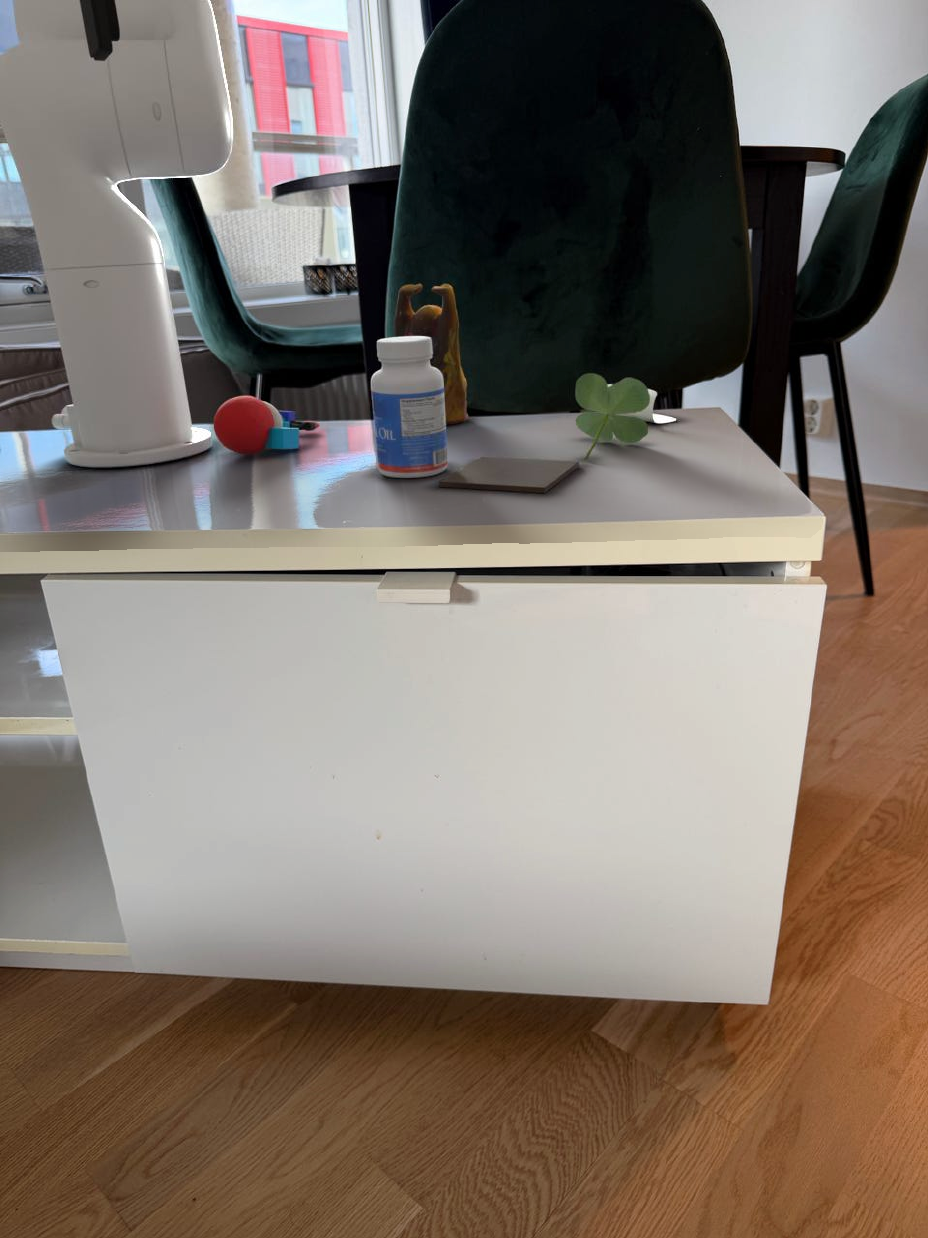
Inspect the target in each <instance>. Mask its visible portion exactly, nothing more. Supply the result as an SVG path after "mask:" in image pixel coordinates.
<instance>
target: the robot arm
mask: <svg viewBox="0 0 928 1238" xmlns="http://www.w3.org/2000/svg"><path fill="white" fill-rule="evenodd" d="M13 10H14V11H13V12H14V15H13V16H14V24H15V29H16V35H17V39H18V43H19V44H17V45H14V46H12V47H10V48H8V49H7V50H5V51H4V52H3V53H2V54H1V55H0V127H1V131H2V132H3V135H4V138H5V140H6V143H7V147H8V149H9V152H10V154H11V156H12V157H11V158H12V159H13V162H14V166H15V167H16V170H17V173H18V176H19V179H20V182H21V185H22V189H23V192H24V194H25V200H26V202H27V205H28V206H27V207H28V209H29V213H30V216H31V220H32V224H33V228H34V232H35V237H36V241H37V245H38V246H37V247H38V250H39V254H40V259H41V263H42V267H43V273H44V277H45V281H46V286H47V290H48V291H47V292H48V295H49V300H50V305H51V309H52V314H53V317H54V318H53V319H54V322H55V323H54V324H55V327H56V331H57V337H58V341H59V346H60V350H61V355H62V360H63V364H64V368H65V374H66V378H67V383H68V387H69V392H70V397H71V400H72V404H68V405H65V406H64V407H63V408H62V409H61V412H60V413H55V414H53V415H52V418H51V425H52V427H53V428H55V429H57V430H70V432H71V437H72V440H73V442H71V443H70V444H68V445H66V446H65V447H64V449H63V453H64V458H65V462H67V463H68V464H70V465H72V466H77V467H83V468H123V467H135V466H136V467H137V466H143V465H153V464H158V463H164V462H170V461H175V460H180V459H183V458H184V459H185V458H188V457H192V456H194V455H198V454H200V453H204V452H205V451H207V450H209V449H210V448H211V447H212V446H213V445H214V444H213V438H212V437H213V436H212V433H211V432H210V431H209V430H207V429H203V428H199V427H193V424H192V418H191V412H190V411H191V410H190V405H189V399H188V394H187V388H186V387H187V386H186V381H185V376H184V369H183V365H182V357H181V351H180V347H179V340H178V333H177V328H176V322H175V317H174V310H173V305H172V298H171V293H170V287H169V280H168V275H167V269H166V262H165V256H164V251H163V246H162V243H161V240H160V238H159V235H158V233H157V231H156V229H155V227H154V226H153V224H152V223H151V222H150V221H149V219H148V218H147V217H146V216H145V215H144V214H143V212H141V211H140V210H139V209H138V208H137V207H136V206H135V205H134V204H133V203H131V202H130V201H129V200H128V199H127V198H126V197H125V196H124V195H123V194H122V193H121V192H120V190H119V188H118V186H117V185H118V184H119V183H121V182H125V181H133V180H138V179H139V180H140V179H141V180H142V179H169V178H170V179H171V178H172V179H173V178H192V177H194V178H195V177H204V176H208V175H212V174H215V173H217V172H219V171H220V170H222V169H223V168H224V167H225V166H226V164H227V163H228V161H229V159H230V156H231V155H232V154H231V153H232V149H233V142H234V141H233V139H234V138H233V137H234V127H233V126H234V125H233V114H232V113H233V112H232V108H231V99H230V94H229V90H228V83H227V78H226V73H225V68H224V61H223V55H222V50H221V45H220V40H219V34H218V29H217V28H218V27H217V23H216V19H215V15H214V11H213V7H212V3H211V1H210V0H13Z"/></svg>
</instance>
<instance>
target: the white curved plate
mask: <svg viewBox="0 0 928 1238" xmlns="http://www.w3.org/2000/svg"><path fill="white" fill-rule="evenodd" d="M612 384H613V383H611V384H610V383H609V384H608V383H607V385H608V387H609V386H611V385H612ZM647 389H648V393H649V395H650V403H649V405H648V406H647V407H646V409H644V410H642V411H640V412H636V413H628V414H616V415H620V416H628V417H636V418H639V419H641V420H643V421H644V422H648V423H655V424H667V423H672V422H676V421H677V418H675V417H672V416H669V415H663V414H659V413H654V405H655V400H656V399H657V398H656V397H657V396H658V392H657V391H655V390H653V389H650V388H647Z"/></svg>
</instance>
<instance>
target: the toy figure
mask: <svg viewBox="0 0 928 1238" xmlns="http://www.w3.org/2000/svg"><path fill="white" fill-rule="evenodd" d="M318 428H320V423H318V422H316V421H313V420H297V417H296V411H291V410H289V411H288V410H279V409H277V408H276V407H275V406H274V405H272V404H271V403H269V402H267V401H263V400H262V399H260V398H257V397H255V396H252V395H239V396H235V397H232V398H229V399H228V400H226V401H225V402H223V403H222V404H221V405H220V406H219V408H218V409H217V411H216V413H215V414H214V418H213V431H214V434H215V436H216V439H218V441H219V443H220V444H222V446H223V447H224V448H226V449H228V450H229V451H230V452H231V451H232V452H234V453H236V454H240V455H255V454H259V453H261V452H262V451H264V450H266V449H275V450H291V449H292V450H293V449H300V431H306V432H312V431H315V430H316V429H318Z"/></svg>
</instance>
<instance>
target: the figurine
mask: <svg viewBox="0 0 928 1238" xmlns="http://www.w3.org/2000/svg"><path fill="white" fill-rule="evenodd" d="M421 291H423V285H422V284H421V283H418V284H406V285H404V286H401V287H400V289H399V290H398V296H397V302H396V308H395V314H394V318H393V319H394V320H393V326H394V327H393V329H394V330H393V331H394V335H395V336H394V337H405V336H425V337H430V338H431V339H432V350H433V354H432V358H431V359H430V365H431V366H432V367H435V368H437V369H438V370H439V371H440V372H441V373H442V375H443V380H444V399H445V417H446V426H450V425H456V424H461V423H464V422H466V421H467V420H468V419H469V414H468V412H467V408H468V405H467V403H468V401H467V388H468V383H467V379H466V377H465V374H464V371H463V368H462V366H461V355H460V341H459V330H460V323H459V315H458V310H457V303H456V297H455V293H454V289H453V286H452V285H450V284H449V283H443V284H442V285H440V286H438V285H437V286H436V285H435V286H433V287H432V288H431V292H432V293H435V294H437V295H439V296H441V298H442V299H441V300H442V305H441V306H438V305H434V304H432V305H431V304H427V305H424V306H422V307H420V308H419V309H418V310H417V311H415V312H414V310H413V309H412V305H411V298H412V297H413V296H415V295H417V294H419V293H420V292H421Z"/></svg>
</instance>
